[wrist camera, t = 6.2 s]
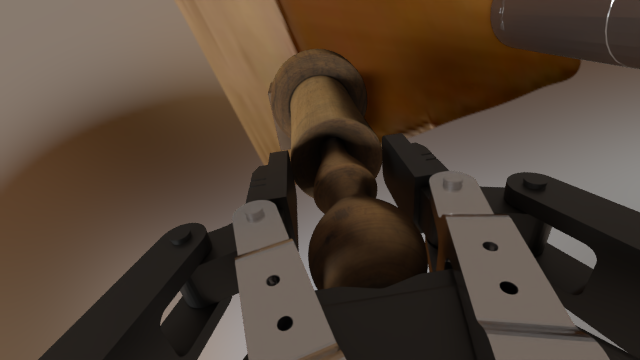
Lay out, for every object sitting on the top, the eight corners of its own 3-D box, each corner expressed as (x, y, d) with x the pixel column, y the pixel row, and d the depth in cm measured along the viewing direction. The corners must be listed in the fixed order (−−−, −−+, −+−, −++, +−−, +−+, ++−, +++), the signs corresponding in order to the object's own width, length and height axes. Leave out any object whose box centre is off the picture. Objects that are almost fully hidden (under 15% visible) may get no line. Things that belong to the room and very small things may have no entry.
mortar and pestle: (273, 136, 23) (237, 388, 8) (270, 46, 20) (202, 169, 5) (356, 137, 24) (476, 373, 8) (366, 50, 21) (589, 172, 5)
